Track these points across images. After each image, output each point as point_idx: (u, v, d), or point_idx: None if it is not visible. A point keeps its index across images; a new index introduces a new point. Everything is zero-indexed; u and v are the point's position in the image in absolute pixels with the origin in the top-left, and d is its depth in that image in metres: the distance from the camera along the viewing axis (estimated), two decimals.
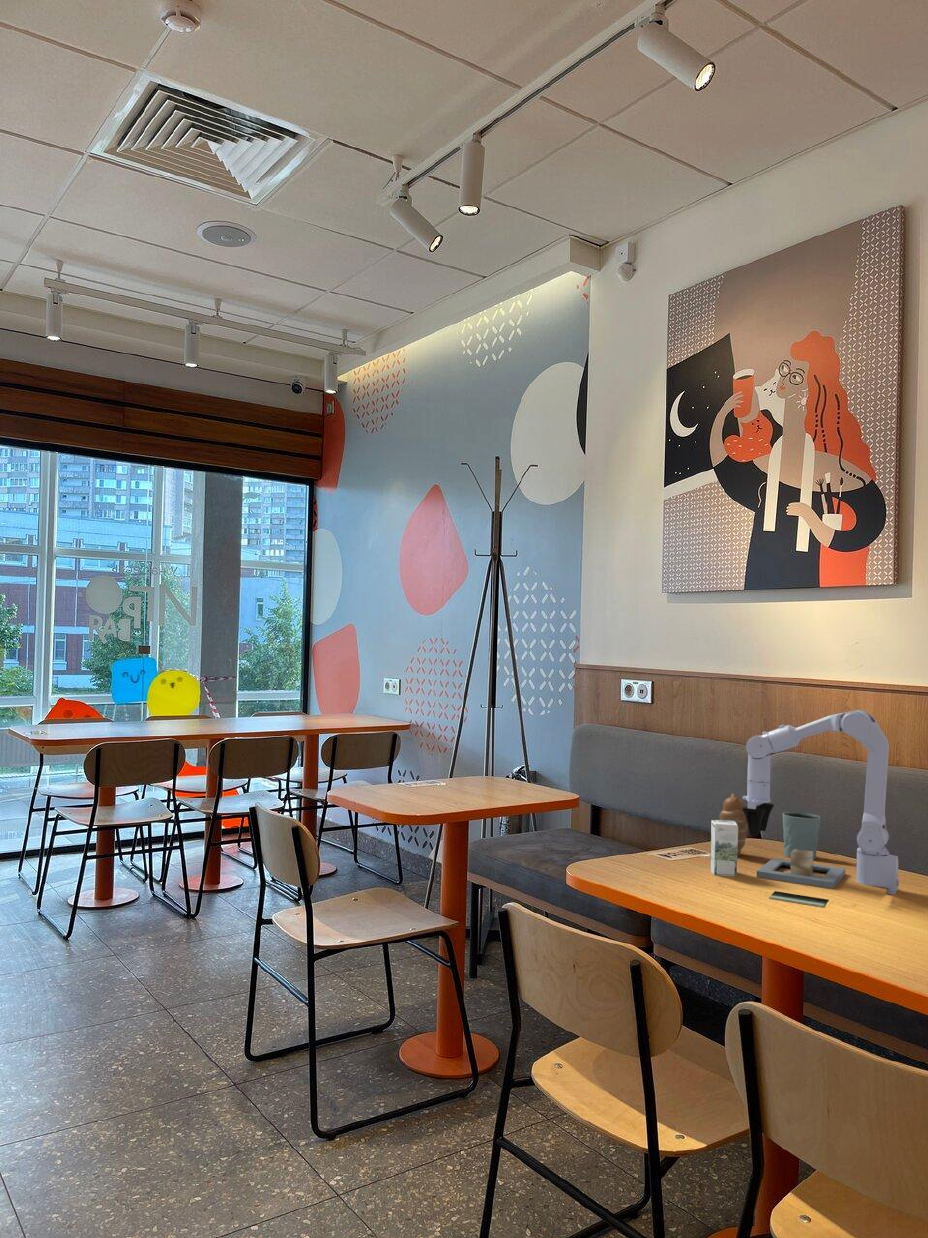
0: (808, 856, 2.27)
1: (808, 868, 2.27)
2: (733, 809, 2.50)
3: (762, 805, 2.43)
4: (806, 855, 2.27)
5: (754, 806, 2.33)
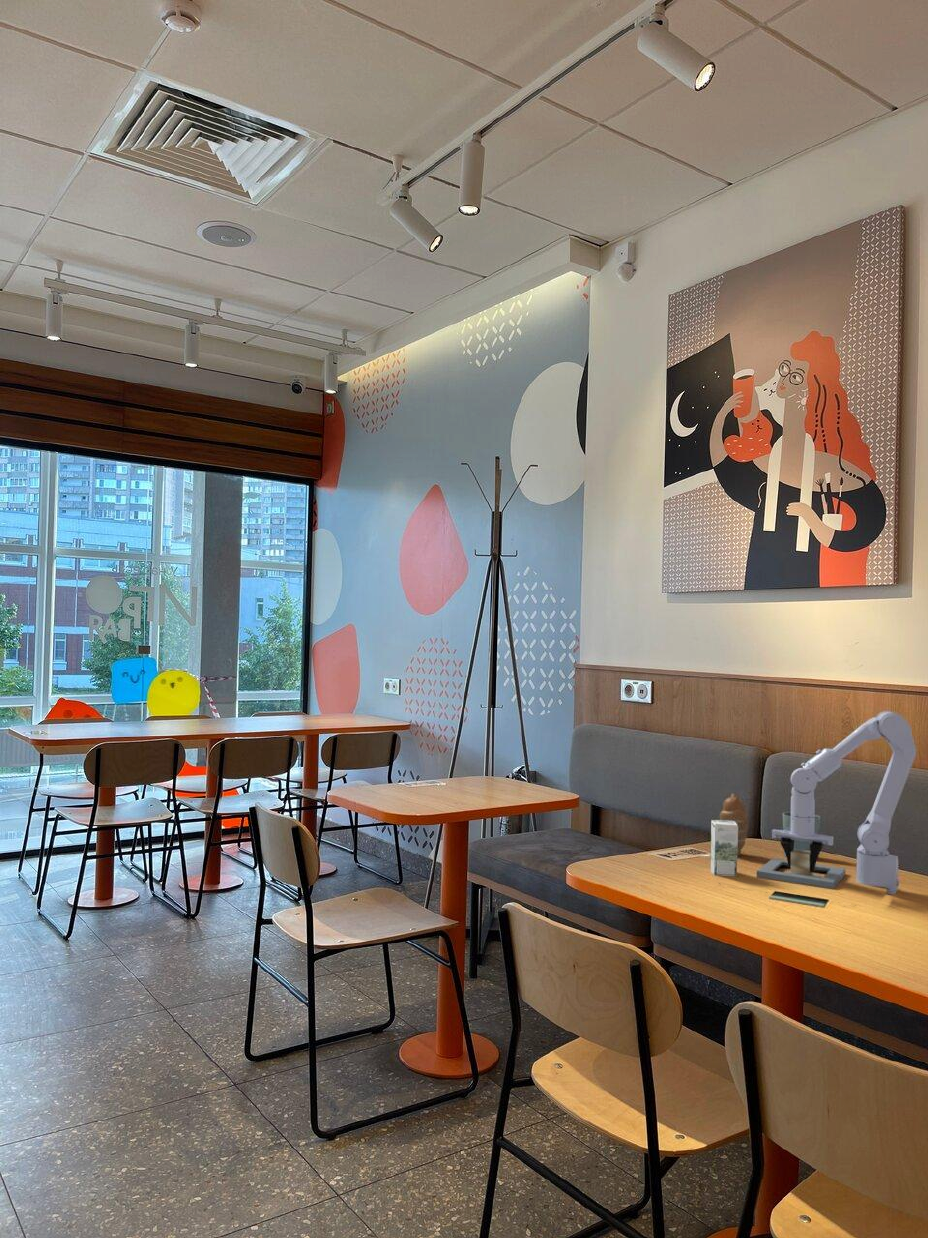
0: (808, 856, 2.27)
1: (808, 868, 2.27)
2: (733, 809, 2.50)
3: None
4: (806, 855, 2.27)
5: (772, 835, 2.33)
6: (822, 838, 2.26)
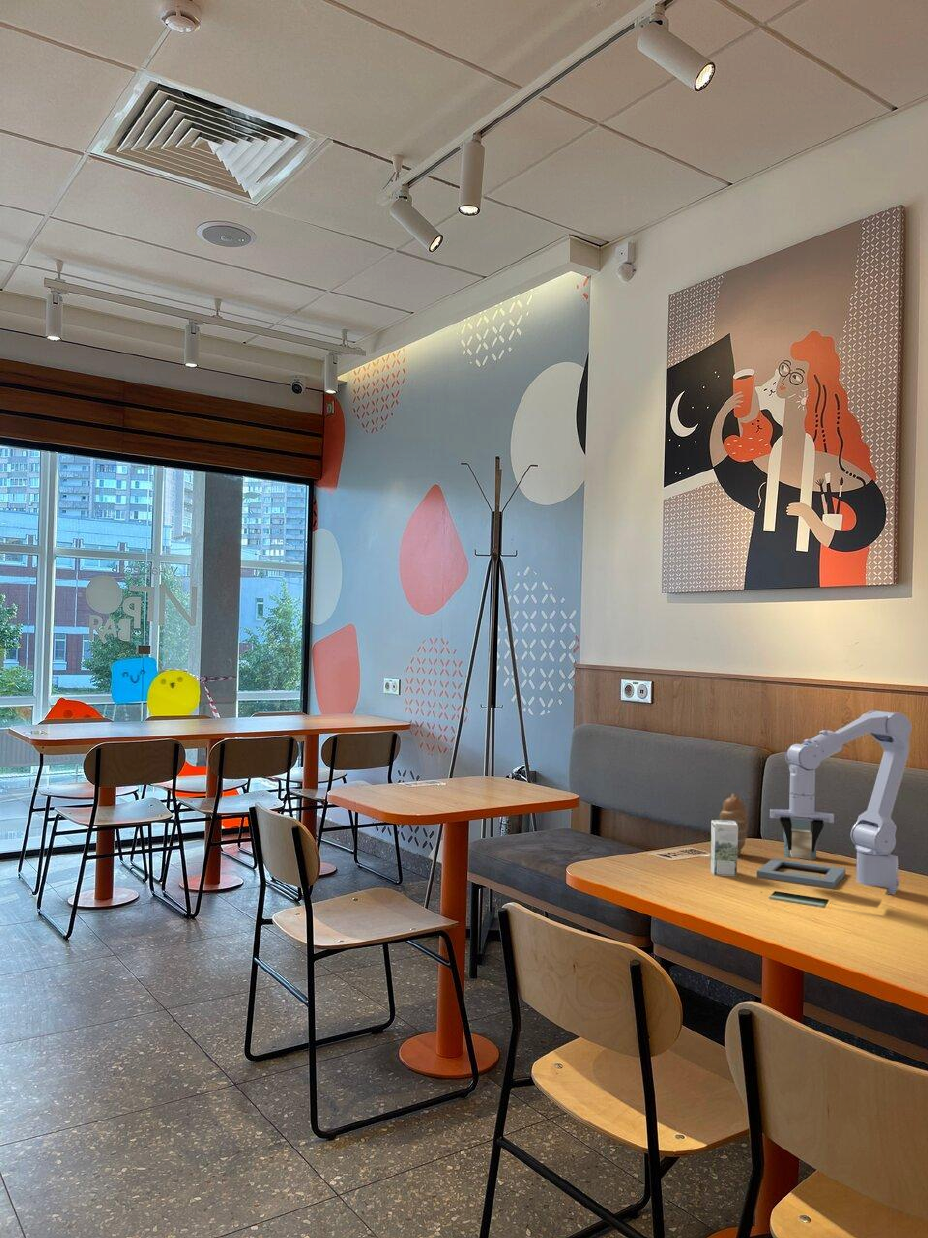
0: (810, 835, 2.18)
1: (810, 848, 2.18)
2: (733, 809, 2.50)
3: (812, 823, 2.19)
4: (808, 834, 2.18)
5: (770, 815, 2.21)
6: (824, 816, 2.18)
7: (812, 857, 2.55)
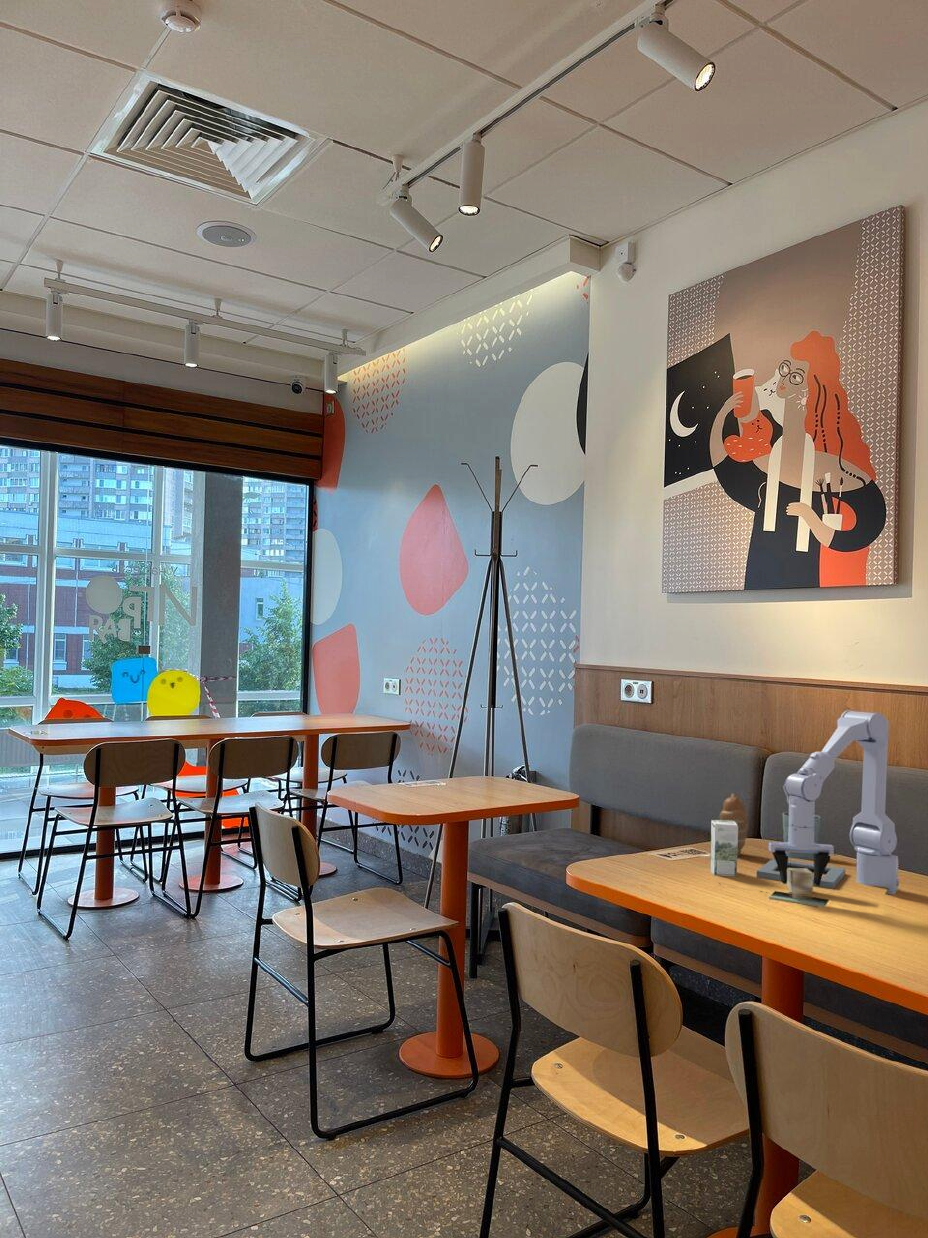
0: (811, 875, 2.12)
1: (811, 888, 2.12)
2: (733, 809, 2.50)
3: (817, 855, 2.14)
4: (809, 874, 2.12)
5: (770, 849, 2.14)
6: (825, 847, 2.12)
7: (812, 857, 2.55)
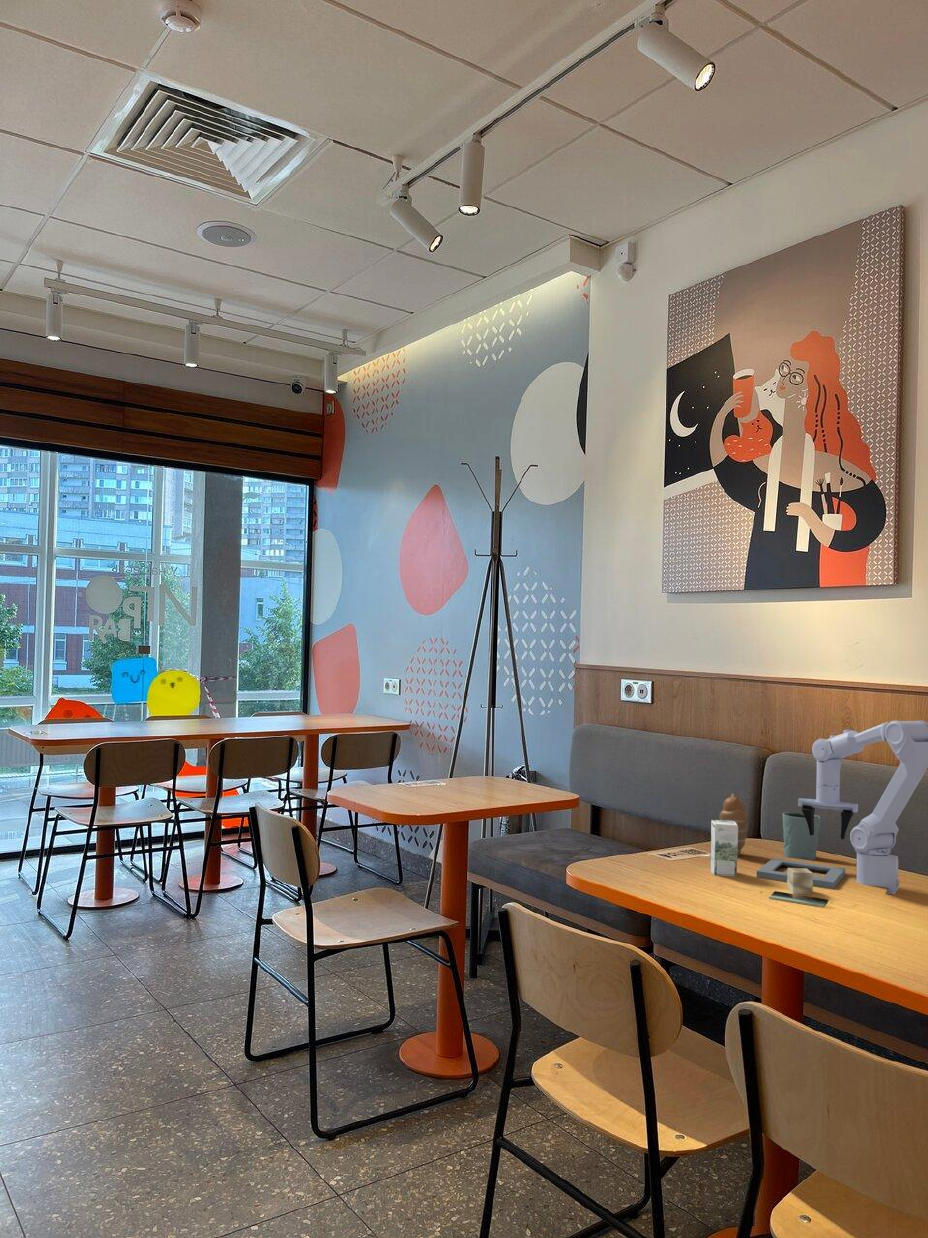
0: (811, 875, 2.12)
1: (811, 888, 2.12)
2: (733, 809, 2.50)
3: None
4: (809, 874, 2.12)
5: (798, 803, 2.42)
6: (847, 805, 2.35)
7: (812, 857, 2.55)
